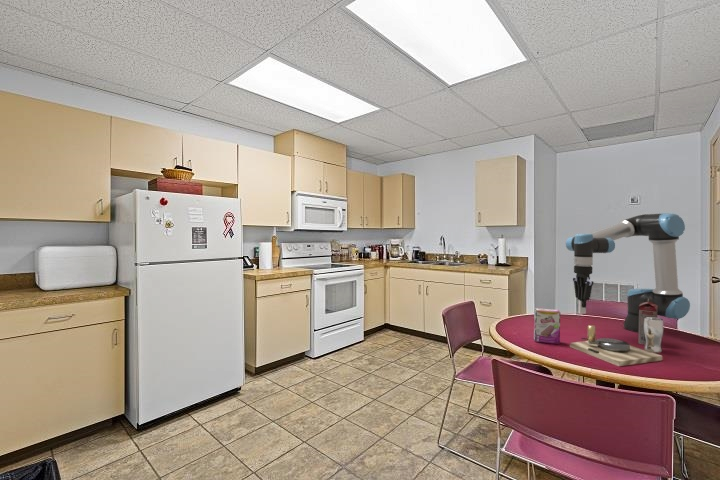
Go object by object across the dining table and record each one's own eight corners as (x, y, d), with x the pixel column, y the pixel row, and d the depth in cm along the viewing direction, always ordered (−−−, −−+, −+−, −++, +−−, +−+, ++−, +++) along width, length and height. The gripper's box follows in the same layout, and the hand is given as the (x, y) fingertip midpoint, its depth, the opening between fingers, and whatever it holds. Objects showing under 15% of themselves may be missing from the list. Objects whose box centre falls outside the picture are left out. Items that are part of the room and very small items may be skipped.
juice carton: (638, 343, 167) (639, 299, 166) (639, 340, 172) (640, 297, 171) (656, 346, 162) (657, 301, 162) (656, 343, 167) (657, 299, 167)
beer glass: (666, 353, 153) (667, 320, 153) (649, 352, 155) (649, 320, 154) (656, 348, 160) (657, 316, 160) (639, 347, 162) (640, 316, 161)
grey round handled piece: (623, 344, 159) (624, 325, 158) (634, 353, 147) (634, 332, 147) (578, 340, 165) (578, 321, 165) (584, 348, 154) (584, 328, 154)
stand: (609, 342, 169) (609, 337, 169) (662, 360, 146) (662, 354, 145) (569, 347, 163) (569, 341, 163) (618, 366, 140) (618, 359, 140)
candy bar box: (535, 342, 170) (535, 310, 169) (533, 339, 175) (533, 307, 174) (560, 344, 166) (560, 311, 166) (558, 341, 171) (558, 309, 170)
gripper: (567, 264, 171) (566, 310, 171) (583, 266, 158) (582, 316, 158) (583, 264, 170) (582, 310, 171) (599, 266, 157) (598, 317, 158)
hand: (582, 313), depth 165 cm, fingers closed
